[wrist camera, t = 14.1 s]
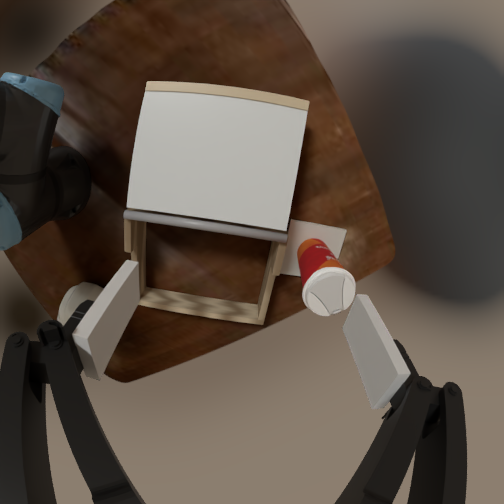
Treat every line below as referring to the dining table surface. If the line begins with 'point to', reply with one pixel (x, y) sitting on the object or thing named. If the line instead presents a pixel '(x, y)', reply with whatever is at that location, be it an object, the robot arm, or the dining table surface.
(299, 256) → the coffee cup
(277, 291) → the dining table surface
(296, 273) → the stone tile
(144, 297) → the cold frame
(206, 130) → the lid
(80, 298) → the vase
